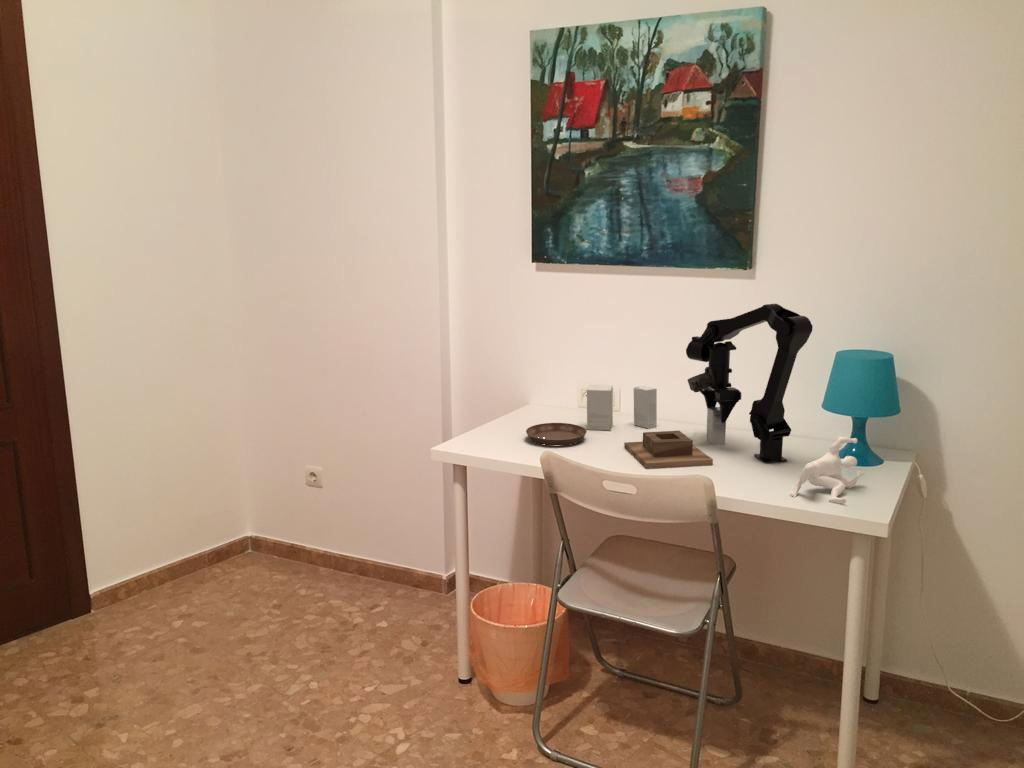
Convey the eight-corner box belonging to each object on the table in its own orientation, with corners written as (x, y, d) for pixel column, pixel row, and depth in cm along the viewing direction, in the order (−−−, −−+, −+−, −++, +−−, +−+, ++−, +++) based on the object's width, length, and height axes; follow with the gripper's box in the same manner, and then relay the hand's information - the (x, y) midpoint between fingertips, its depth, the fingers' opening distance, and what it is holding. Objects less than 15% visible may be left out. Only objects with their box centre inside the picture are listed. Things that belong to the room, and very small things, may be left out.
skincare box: (657, 426, 258) (658, 388, 255) (647, 429, 255) (648, 390, 252) (642, 422, 262) (643, 385, 260) (632, 425, 259) (633, 387, 257)
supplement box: (613, 425, 260) (613, 385, 258) (610, 431, 253) (611, 390, 250) (589, 423, 262) (589, 384, 259) (586, 429, 255) (586, 389, 252)
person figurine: (838, 461, 185) (855, 429, 199) (781, 464, 193) (802, 433, 206) (850, 514, 188) (866, 479, 202) (793, 515, 195) (813, 481, 209)
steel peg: (725, 444, 238) (726, 410, 236) (711, 445, 237) (712, 410, 235) (719, 440, 242) (720, 406, 240) (706, 441, 241) (707, 407, 239)
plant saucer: (573, 451, 233) (574, 441, 232) (516, 444, 240) (516, 434, 240) (595, 436, 249) (595, 426, 248) (540, 430, 256) (540, 420, 255)
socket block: (712, 465, 219) (713, 444, 217) (646, 468, 216) (646, 448, 215) (685, 444, 238) (686, 425, 237) (624, 447, 235) (624, 428, 234)
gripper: (679, 359, 242) (678, 412, 246) (704, 371, 224) (702, 428, 228) (716, 358, 244) (714, 410, 247) (743, 370, 226) (740, 426, 229)
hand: (716, 418), depth 238 cm, fingers open, 9 cm apart
